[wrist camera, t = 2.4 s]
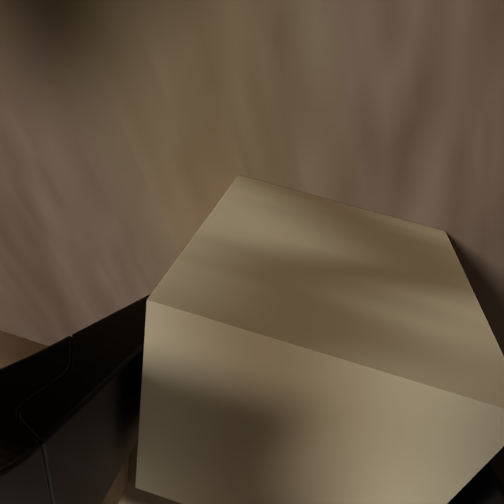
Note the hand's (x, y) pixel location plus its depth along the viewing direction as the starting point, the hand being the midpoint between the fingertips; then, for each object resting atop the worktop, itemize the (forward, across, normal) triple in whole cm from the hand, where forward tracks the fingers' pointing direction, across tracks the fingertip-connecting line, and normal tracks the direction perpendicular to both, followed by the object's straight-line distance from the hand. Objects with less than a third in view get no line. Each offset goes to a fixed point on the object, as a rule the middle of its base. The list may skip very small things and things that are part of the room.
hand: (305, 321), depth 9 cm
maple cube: (+2, 0, 0) cm, 2 cm away
